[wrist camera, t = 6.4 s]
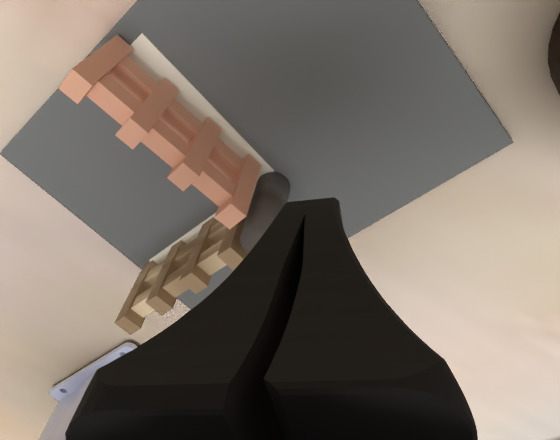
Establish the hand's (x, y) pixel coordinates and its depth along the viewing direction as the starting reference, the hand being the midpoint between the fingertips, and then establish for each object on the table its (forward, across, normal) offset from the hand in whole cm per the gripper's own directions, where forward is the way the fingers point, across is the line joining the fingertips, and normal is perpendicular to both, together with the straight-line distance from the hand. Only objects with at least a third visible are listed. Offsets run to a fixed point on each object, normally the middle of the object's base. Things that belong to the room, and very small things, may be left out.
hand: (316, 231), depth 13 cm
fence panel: (+9, +6, 0) cm, 11 cm away
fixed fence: (+10, +7, +6) cm, 14 cm away
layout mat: (+10, +5, +2) cm, 11 cm away
